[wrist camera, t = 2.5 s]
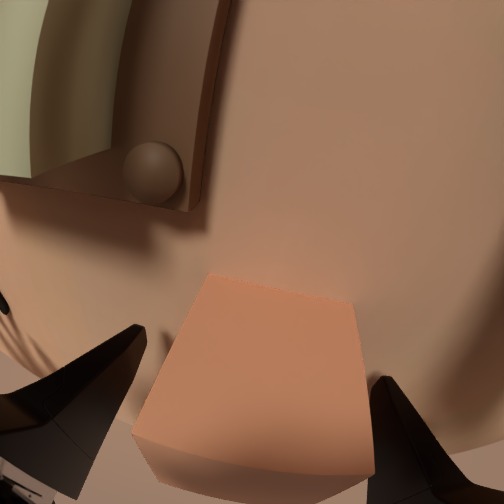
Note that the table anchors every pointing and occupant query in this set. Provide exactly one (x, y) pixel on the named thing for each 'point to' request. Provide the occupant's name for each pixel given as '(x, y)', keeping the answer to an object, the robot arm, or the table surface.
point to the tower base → (109, 96)
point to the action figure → (3, 306)
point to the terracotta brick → (260, 399)
